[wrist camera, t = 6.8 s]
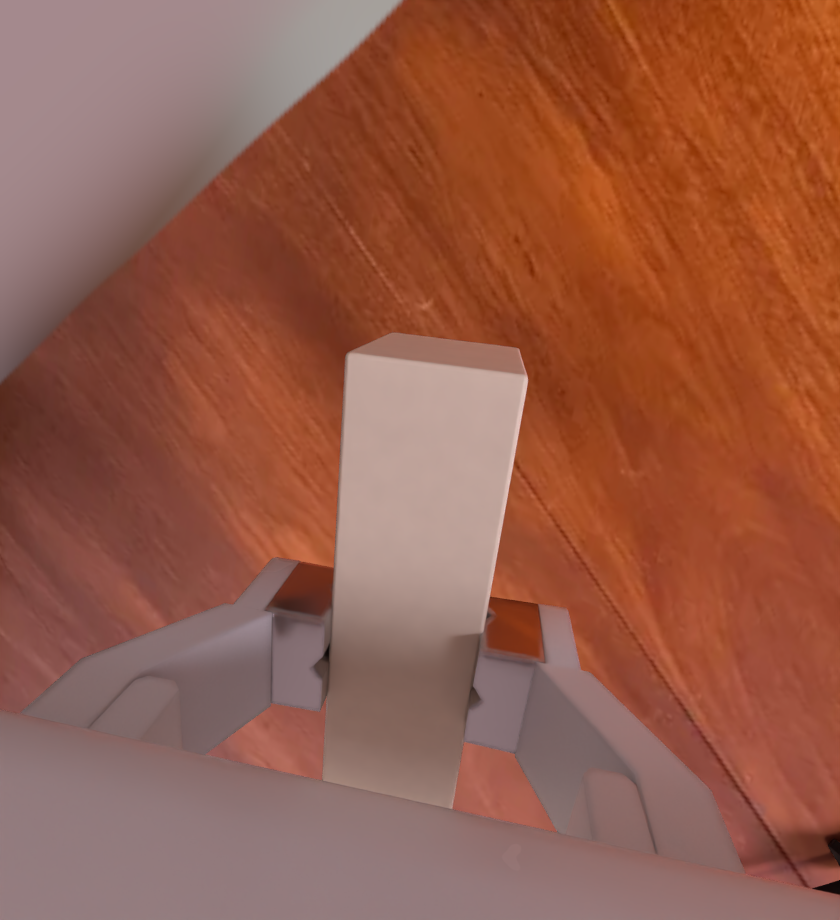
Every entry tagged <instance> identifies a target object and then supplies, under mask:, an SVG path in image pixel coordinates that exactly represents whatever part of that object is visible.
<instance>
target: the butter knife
mask: <svg viewBox="0 0 840 920" xmlns="http://www.w3.org/2000/svg"><path fill="white" fill-rule="evenodd" d="M527 385H528V377H527V374H526V370H525V367H524V364H523V361H522V357H521V354H520V351H519V349H518V348H515V347H507V346H499V345H491V344H483V343H475V342H467V341H459V340H451V339H442V338H434V337H426V336H418V335H410V334H402V333H394V332H393V333H390V334H387V335H385V336H383V337H381V338H379V339H376V340H374V341H372V342H370V343H368V344H366V345H363V346H361V347H359V348H357V349H355V350H352V351H350V352H348V353H347V354H346V356H345V372H344V391H343V409H342V427H341V445H340V464H339V482H338V500H337V518H336V536H335V555H334V573H333V591H332V606H333V613H332V632H331V641H330V646H329V662H330V667H329V682H328V694H327V700H326V719H325V737H324V755H323V773H322V781H327V782H332V783H336V784H341V785H345V786H350V787H354V788H359V789H363V790H368V791H372V792H377V793H382V794H386V795H391V796H395V797H400V798H404V799H409V800H413V801H418V802H422V803H427V804H432V805H436V806H440V807H445V808H449V809H452V807H453V801H454V795H455V790H456V784H457V779H458V773H459V767H460V762H461V756H462V750H463V745H464V742H463V741H464V726H465V717H466V711H467V705H468V699H469V694H470V690H471V689H472V688H473V678H474V665H475V660H476V655H477V649H478V644H479V639H480V633H483V631H484V627H485V621H486V615H487V610H488V604H489V598H490V593H491V587H492V582H493V576H494V570H495V565H496V559H497V553H498V548H499V542H500V537H501V531H502V525H503V520H504V514H505V508H506V503H507V497H508V492H509V486H510V480H511V475H512V469H513V463H514V458H515V452H516V446H517V441H518V435H519V430H520V424H521V418H522V413H523V407H524V401H525V396H526V390H527Z"/></svg>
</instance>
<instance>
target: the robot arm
mask: <svg viewBox="0 0 840 920" xmlns="http://www.w3.org/2000/svg"><path fill="white" fill-rule="evenodd" d="M333 573H334V568H332V567H327V566H322V565H317V564H312V563H306V562H300V561H297V560H291V559H285V558H279V557H276V558H272V559H271V560H270V561H269V562H268V564H267V565H266V566H265V567H264V568H263V569H262V571H261V572H260V573H259V574H258V575H257V577H256V578H255V579H254V580H253V581H252V583H251V584H250V585H249V586H248V587H247V588H246V590H245V591H244V592H243V593H242V594H241V596H240V597H239V598H238V599H237V600H236V602H235V603H234V604H233V605H231V604H226V603H224V604H222V605H219V606H217V607H214V608H211V609H209V610H206V611H204V612H201V613H198V614H196V615H193V616H191V617H188V618H186V619H183V620H180V621H178V622H175V623H173V624H170V625H167V626H165V627H162V628H160V629H157V630H154V631H152V632H149V633H147V634H144V635H141V636H139V637H136V638H134V639H131V640H129V641H126V642H123V643H121V644H118V645H116V646H113V647H110V648H108V649H105V650H103V651H100V652H97V653H95V654H92V655H90V656H87V657H84V658H82V659H80V660H79V661H78V662H77V663H76V664H75V665H74V666H72V667H71V668H70V669H69V670H68V671H67V672H66V673H64V674H63V675H62V676H61V677H60V678H59V679H58V680H57V681H55V682H54V683H53V684H52V685H51V686H50V687H49V688H48V689H46V690H45V691H44V692H43V693H42V694H41V695H40V696H39V697H37V698H36V699H35V700H34V701H33V702H32V703H31V704H30V705H28V706H27V707H26V708H25V709H24V710H23V711H22V712H21V713H15V712H10V711H6V710H1V709H0V920H840V895H838V894H833V893H829V892H824V891H820V890H815V889H811V888H806V887H802V886H797V885H793V884H788V883H784V882H779V881H775V880H770V879H766V878H761V877H757V876H752V875H747V874H746V873H745V871H744V868H743V866H742V863H741V861H740V859H739V856H738V854H737V851H736V849H735V847H734V844H733V842H732V839H731V837H730V835H729V832H728V830H727V827H726V825H725V823H724V820H723V818H722V815H721V813H720V811H719V808H718V806H717V803H716V801H715V799H714V796H713V794H712V791H711V790H710V789H709V788H708V787H707V786H706V785H705V784H704V783H703V782H702V781H701V780H700V779H699V778H698V777H697V776H696V775H695V774H694V773H693V772H692V771H691V770H690V769H689V768H688V767H687V766H686V765H685V764H684V763H683V762H682V761H681V760H680V759H679V758H677V757H676V756H675V755H674V754H673V753H672V752H671V751H670V750H669V749H668V748H667V747H666V746H665V745H664V744H663V743H662V742H661V741H660V740H659V739H658V738H657V737H656V736H655V735H654V734H653V733H652V732H651V731H650V730H649V729H648V728H647V727H646V726H645V725H644V724H643V723H642V722H641V721H639V720H638V719H637V718H636V717H635V716H634V715H633V714H632V713H631V712H630V711H629V710H628V709H627V708H626V707H625V706H624V705H623V704H622V703H621V702H620V701H619V700H618V699H617V698H616V697H615V696H614V695H613V694H612V693H611V692H610V691H609V690H608V689H607V688H606V687H605V686H604V685H602V684H601V683H600V682H599V681H598V680H597V679H596V678H595V677H594V676H593V675H592V674H591V673H590V672H587V671H581V668H580V663H579V658H578V654H577V649H576V645H575V640H574V635H573V631H572V626H571V621H570V617H569V612H568V610H567V609H566V608H565V607H557V606H550V605H543V604H534V603H528V602H521V601H515V600H508V599H502V598H495V597H490V598H489V604H488V610H487V615H486V621H485V627H484V631H483V633H480V639H479V644H478V649H477V655H476V660H475V665H474V678H473V688H472V689H471V690H470V694H469V699H468V705H467V711H466V717H465V726H464V741H463V742H468V743H472V744H476V745H480V746H484V747H489V748H493V749H497V750H501V751H506V752H510V753H514V754H515V758H516V759H517V761H518V763H519V765H520V766H521V768H522V770H523V772H524V774H525V775H526V777H527V779H528V781H529V782H530V784H531V786H532V788H533V789H534V791H535V793H536V795H537V797H538V798H539V800H540V802H541V804H542V805H543V807H544V809H545V811H546V812H547V814H548V816H549V818H550V820H551V821H552V823H553V825H554V827H555V828H556V830H557V832H558V833H557V832H552V831H548V830H543V829H539V828H535V827H530V826H526V825H521V824H517V823H512V822H508V821H503V820H499V819H494V818H490V817H485V816H481V815H476V814H472V813H467V812H463V811H458V810H454V809H449V808H445V807H440V806H436V805H432V804H427V803H422V802H418V801H413V800H409V799H404V798H400V797H395V796H391V795H386V794H382V793H377V792H372V791H368V790H363V789H359V788H354V787H350V786H345V785H341V784H336V783H332V782H327V781H322V780H318V779H313V778H309V777H304V776H300V775H295V774H291V773H286V772H282V771H277V770H272V769H268V768H263V767H259V766H254V765H250V764H245V763H241V762H236V761H232V760H227V759H222V758H218V757H213V756H209V755H205V754H206V753H208V752H209V751H210V750H212V749H213V748H214V747H216V746H217V745H218V744H220V743H221V742H222V741H224V740H225V739H227V738H228V737H229V736H231V735H232V734H233V733H235V732H236V731H237V730H239V729H240V728H241V727H243V726H244V725H245V724H247V723H248V722H250V721H251V720H252V719H254V718H255V717H256V716H258V715H259V714H260V713H262V712H263V711H264V710H266V709H267V708H269V707H270V706H271V703H273V704H279V705H285V706H290V707H296V708H302V709H307V710H313V711H319V712H320V710H321V708H322V705H323V703H324V701H325V699H326V696H327V694H328V682H329V667H330V662H329V646H330V641H331V632H332V613H333V606H332V591H333Z"/></svg>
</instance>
